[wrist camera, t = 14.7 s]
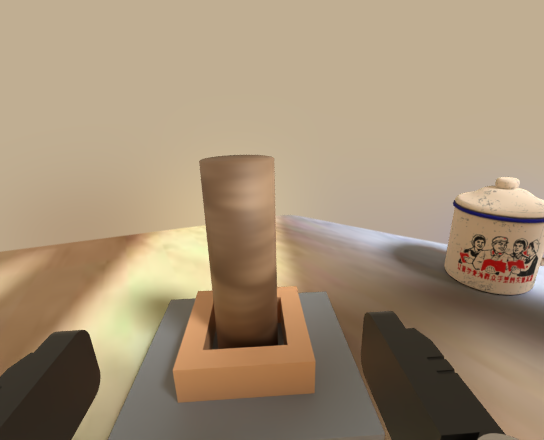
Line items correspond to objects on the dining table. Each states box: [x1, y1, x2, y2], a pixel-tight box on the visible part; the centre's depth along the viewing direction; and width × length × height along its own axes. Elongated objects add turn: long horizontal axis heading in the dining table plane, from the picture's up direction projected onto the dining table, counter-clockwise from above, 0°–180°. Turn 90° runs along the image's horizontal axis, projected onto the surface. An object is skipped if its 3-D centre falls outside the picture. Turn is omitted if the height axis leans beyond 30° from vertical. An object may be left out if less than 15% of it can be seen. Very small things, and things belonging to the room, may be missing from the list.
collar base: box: [108, 286, 385, 440], centre depth 22 cm, size 15×14×4 cm
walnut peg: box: [199, 155, 278, 349], centre depth 20 cm, size 4×4×14 cm
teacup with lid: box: [444, 177, 544, 295], centre depth 33 cm, size 12×9×12 cm
